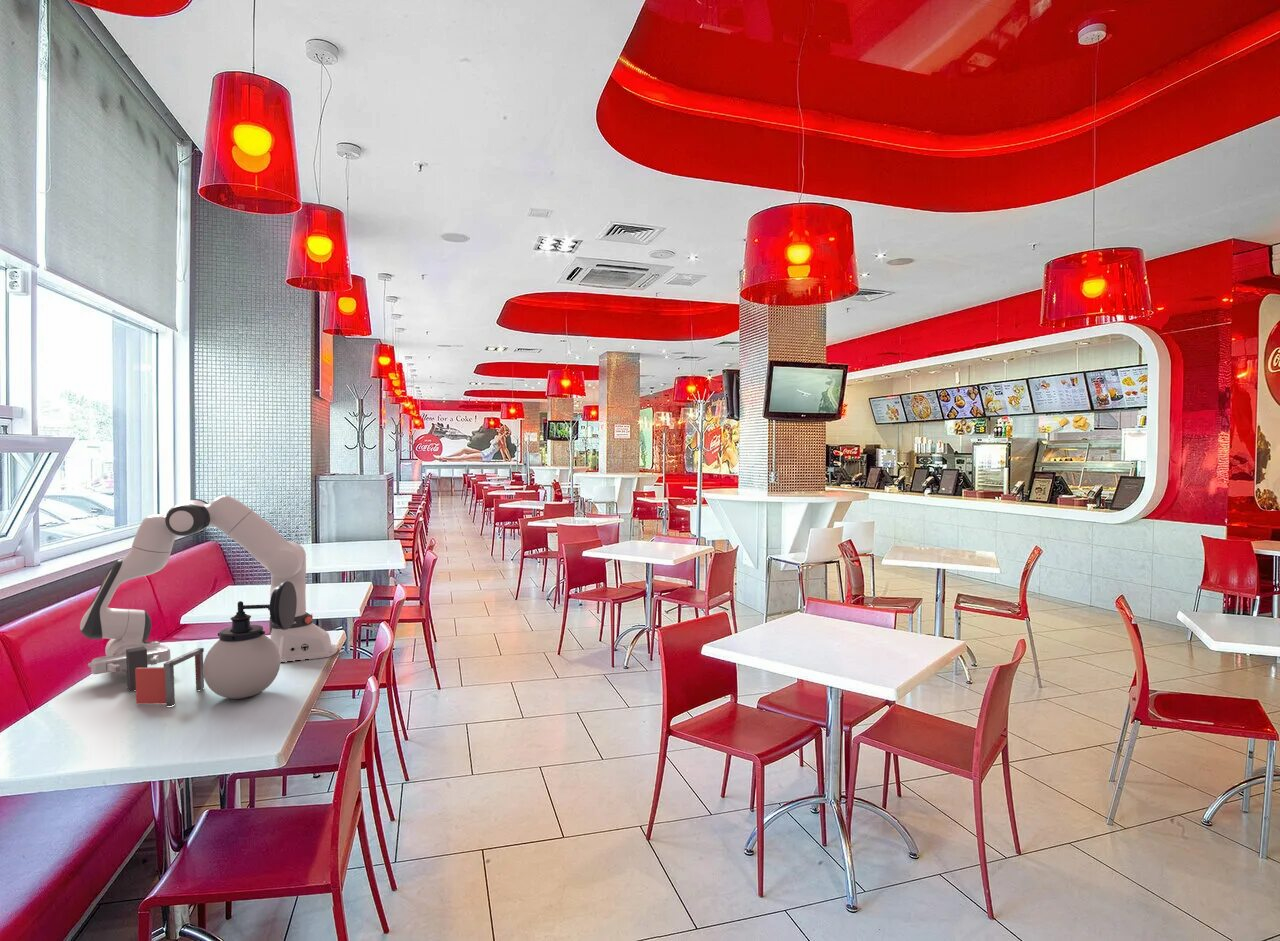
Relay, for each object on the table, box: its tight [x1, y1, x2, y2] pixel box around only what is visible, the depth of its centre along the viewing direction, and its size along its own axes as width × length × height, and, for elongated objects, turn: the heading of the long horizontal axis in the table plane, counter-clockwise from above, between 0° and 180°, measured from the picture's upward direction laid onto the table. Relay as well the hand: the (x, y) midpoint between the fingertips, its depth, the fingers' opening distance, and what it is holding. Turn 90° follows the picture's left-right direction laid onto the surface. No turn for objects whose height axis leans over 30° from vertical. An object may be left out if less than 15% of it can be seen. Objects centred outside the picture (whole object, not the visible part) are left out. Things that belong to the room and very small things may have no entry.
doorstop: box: [126, 646, 148, 692], centre depth 218 cm, size 4×4×12 cm
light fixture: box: [203, 581, 297, 700], centre depth 210 cm, size 20×23×33 cm
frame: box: [163, 647, 205, 707], centre depth 209 cm, size 16×2×12 cm, turn 179°
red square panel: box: [135, 666, 166, 705], centre depth 204 cm, size 10×1×10 cm, turn 89°
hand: (135, 665), depth 220 cm, fingers open, 8 cm apart
